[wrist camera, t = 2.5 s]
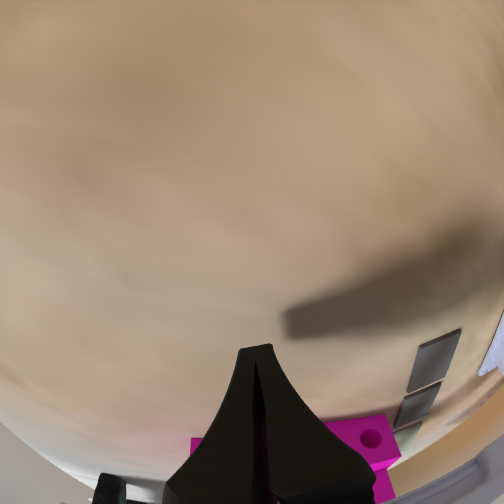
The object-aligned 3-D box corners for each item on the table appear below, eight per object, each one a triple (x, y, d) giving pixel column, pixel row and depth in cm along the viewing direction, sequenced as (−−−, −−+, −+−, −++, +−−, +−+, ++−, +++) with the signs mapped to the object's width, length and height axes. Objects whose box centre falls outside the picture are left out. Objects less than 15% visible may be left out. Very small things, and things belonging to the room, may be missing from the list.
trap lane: (459, 328, 15) (474, 347, 13) (392, 470, 28) (396, 481, 26) (146, 402, 16) (141, 427, 14) (246, 503, 28) (247, 515, 27)
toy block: (383, 412, 19) (413, 487, 12) (355, 446, 21) (374, 510, 15) (190, 420, 17) (184, 517, 10) (192, 453, 20) (190, 529, 13)
